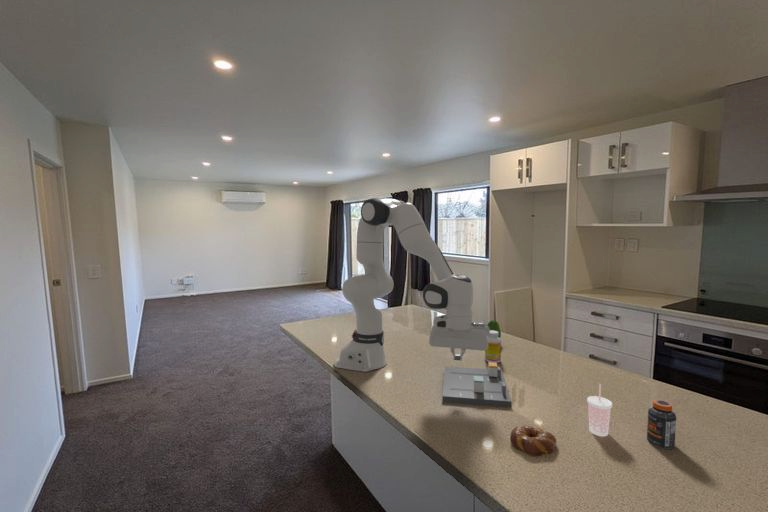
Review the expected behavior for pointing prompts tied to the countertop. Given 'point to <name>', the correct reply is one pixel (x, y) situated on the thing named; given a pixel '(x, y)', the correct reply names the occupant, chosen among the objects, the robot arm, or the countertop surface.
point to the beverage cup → (599, 414)
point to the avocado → (494, 327)
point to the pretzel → (532, 440)
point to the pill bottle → (661, 425)
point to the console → (462, 387)
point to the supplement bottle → (493, 347)
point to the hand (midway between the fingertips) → (457, 359)
